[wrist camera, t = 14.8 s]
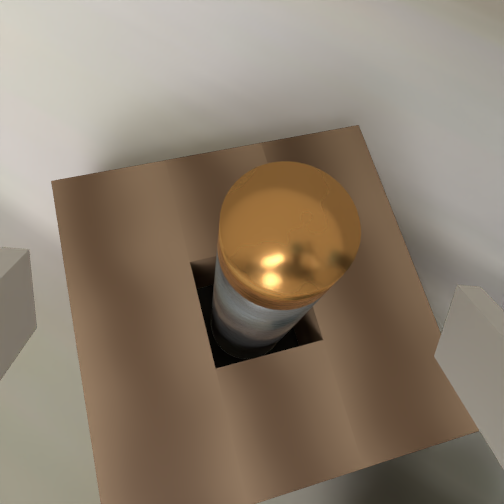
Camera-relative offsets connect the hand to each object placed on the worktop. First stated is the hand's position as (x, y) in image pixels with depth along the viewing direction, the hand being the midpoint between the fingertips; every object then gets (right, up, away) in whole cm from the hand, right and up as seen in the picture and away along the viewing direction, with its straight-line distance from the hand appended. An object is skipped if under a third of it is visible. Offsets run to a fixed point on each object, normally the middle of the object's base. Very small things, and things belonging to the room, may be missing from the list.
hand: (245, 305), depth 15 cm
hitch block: (0, -2, +12) cm, 12 cm away
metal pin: (0, -2, +12) cm, 12 cm away
